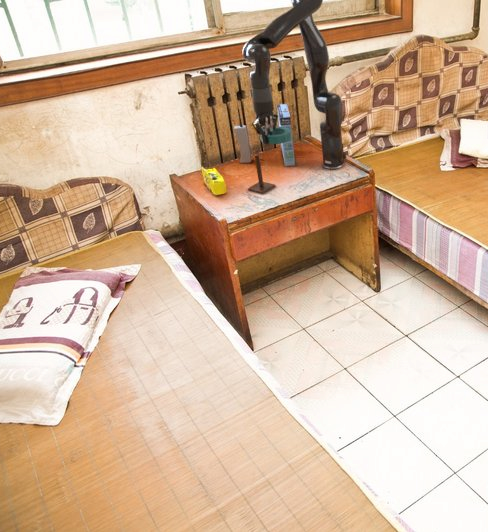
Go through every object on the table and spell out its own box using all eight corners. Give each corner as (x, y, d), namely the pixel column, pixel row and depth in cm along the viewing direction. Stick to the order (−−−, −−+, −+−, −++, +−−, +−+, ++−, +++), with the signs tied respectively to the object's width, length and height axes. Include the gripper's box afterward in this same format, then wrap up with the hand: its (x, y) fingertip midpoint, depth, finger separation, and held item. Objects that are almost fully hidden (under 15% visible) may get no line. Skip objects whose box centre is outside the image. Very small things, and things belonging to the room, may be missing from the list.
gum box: (282, 151, 266) (276, 104, 253) (292, 150, 267) (287, 103, 254) (285, 166, 250) (278, 117, 237) (296, 165, 251) (290, 116, 238)
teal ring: (273, 132, 227) (272, 124, 225) (296, 136, 222) (296, 129, 221) (254, 141, 218) (253, 133, 217) (278, 145, 213) (277, 138, 212)
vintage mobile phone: (241, 160, 257) (231, 107, 244) (251, 159, 258) (243, 107, 244) (240, 163, 254) (230, 110, 241) (250, 162, 255) (242, 109, 241)
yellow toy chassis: (203, 184, 236) (199, 165, 231) (216, 180, 238) (212, 163, 234) (214, 197, 224) (210, 178, 220) (227, 194, 227) (224, 175, 222)
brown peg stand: (260, 183, 235) (255, 150, 227) (275, 186, 232) (270, 153, 224) (248, 190, 230) (242, 156, 221) (263, 194, 226) (257, 160, 218)
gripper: (258, 104, 201) (264, 149, 210) (281, 95, 211) (286, 138, 220) (242, 102, 204) (249, 146, 213) (266, 93, 214) (271, 135, 223)
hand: (268, 142), depth 217 cm, fingers closed on teal ring, 2 cm apart
